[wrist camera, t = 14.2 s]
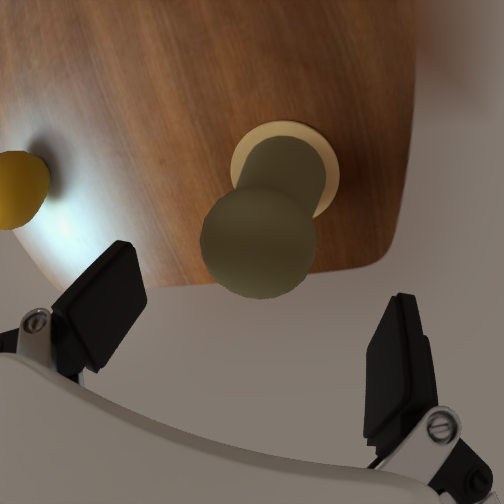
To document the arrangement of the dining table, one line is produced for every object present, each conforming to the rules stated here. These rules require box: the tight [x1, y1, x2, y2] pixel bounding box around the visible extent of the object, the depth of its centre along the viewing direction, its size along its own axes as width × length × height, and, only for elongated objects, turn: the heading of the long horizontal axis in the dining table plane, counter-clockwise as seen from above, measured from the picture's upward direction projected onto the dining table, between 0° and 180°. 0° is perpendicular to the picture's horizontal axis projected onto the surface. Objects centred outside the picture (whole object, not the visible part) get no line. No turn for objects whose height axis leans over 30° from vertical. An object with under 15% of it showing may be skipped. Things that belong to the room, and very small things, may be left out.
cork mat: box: [231, 120, 340, 218], centre depth 21 cm, size 8×8×1 cm
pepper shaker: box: [200, 135, 326, 299], centre depth 16 cm, size 6×6×11 cm
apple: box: [0, 151, 51, 230], centre depth 23 cm, size 9×8×9 cm
